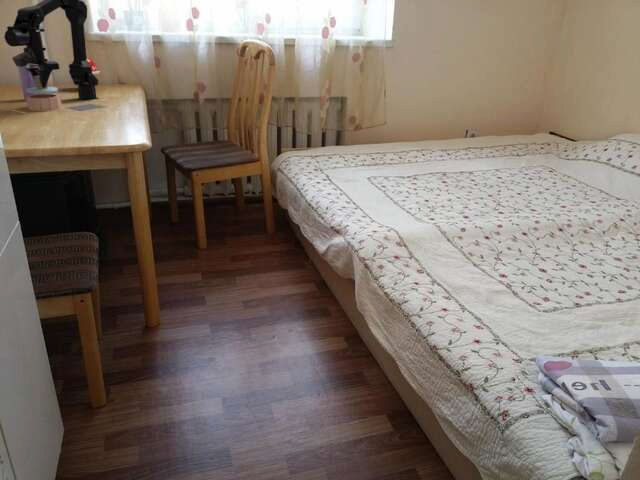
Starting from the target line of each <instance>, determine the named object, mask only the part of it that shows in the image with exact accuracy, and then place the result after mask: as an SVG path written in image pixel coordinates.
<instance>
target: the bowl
mask: <svg viewBox="0 0 640 480" xmlns="http://www.w3.org/2000/svg"><path fill="white" fill-rule="evenodd" d="M26 98H27V101H26V102H27V108H28V110H29V111H35V112H47V111H55V110H57V111H58V110H60V109H62V108H63V103H62V99H61V95H60V94H59V93H58V94H57V93H51V94H33V95H28V96H26Z"/></svg>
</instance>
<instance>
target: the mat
mask: <svg viewBox="0 0 640 480" xmlns="http://www.w3.org/2000/svg"><path fill="white" fill-rule="evenodd" d="M102 108H106V105H105V106H104V105H99V104H94V103H87V104H81V105H74V106H68V107H65V109H68V110H73V111H79V112H83V111H90V110H95V109H102Z"/></svg>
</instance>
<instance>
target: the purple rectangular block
mask: <svg viewBox="0 0 640 480" xmlns="http://www.w3.org/2000/svg"><path fill="white" fill-rule="evenodd" d="M17 68H18V74H19V79H20V85H21V91H22V94H23V99H24V101H26V102H27V98H26V96H28V95H33V94H29V93H27V91H26V89H28V88H32V87H36V83H35V80H34V78H33V76H32V74H31V73H30V72H29V71H27V70H25V69H24V68H26V66H24V67H19V66H17Z"/></svg>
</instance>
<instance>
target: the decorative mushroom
mask: <svg viewBox="0 0 640 480" xmlns="http://www.w3.org/2000/svg"><path fill="white" fill-rule="evenodd" d="M86 58H87V62H88V63H89V65H90V66H91V70H92V74H93V75H94V76H95V75H99V74H101V72H100V70H99V69H98V68H97V67H98V66H97V65H96V63H95V62H94V61H93V60H92V59H90V58H88V57H86ZM72 63H73V61H71V63H70V64H72ZM69 73H70V69H69V70H68V74H69ZM76 86H77V88H78V85H76Z"/></svg>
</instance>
